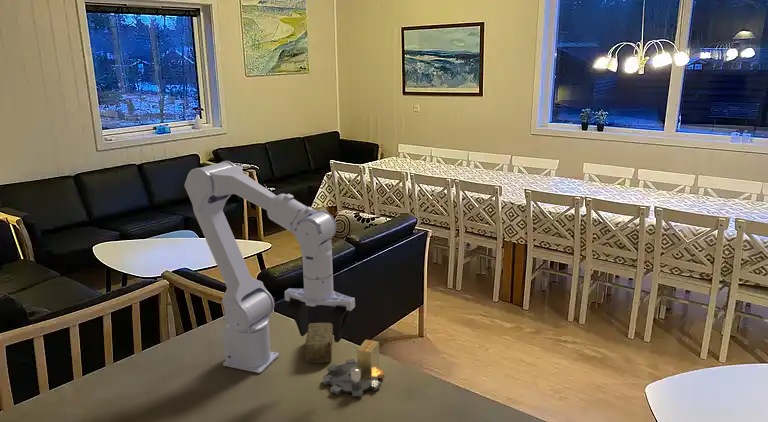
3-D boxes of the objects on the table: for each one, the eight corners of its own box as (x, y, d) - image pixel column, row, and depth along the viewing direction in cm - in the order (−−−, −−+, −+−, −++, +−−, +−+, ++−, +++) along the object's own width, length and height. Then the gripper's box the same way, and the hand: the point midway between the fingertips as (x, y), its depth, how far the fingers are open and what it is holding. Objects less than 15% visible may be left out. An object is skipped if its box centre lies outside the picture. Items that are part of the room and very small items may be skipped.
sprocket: (325, 399, 105) (324, 379, 104) (321, 365, 117) (320, 347, 116) (388, 392, 107) (388, 372, 106) (378, 359, 119) (378, 341, 118)
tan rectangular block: (357, 376, 111) (357, 349, 110) (366, 364, 115) (365, 339, 114) (371, 378, 110) (371, 352, 109) (379, 367, 114) (379, 341, 113)
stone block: (305, 366, 118) (304, 345, 116) (308, 340, 129) (307, 320, 128) (332, 364, 118) (331, 344, 117) (333, 338, 129) (332, 319, 128)
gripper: (274, 276, 105) (279, 340, 108) (343, 286, 100) (345, 352, 104) (293, 264, 111) (296, 324, 115) (358, 272, 106) (360, 335, 110)
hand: (321, 336), depth 110 cm, fingers open, 7 cm apart
